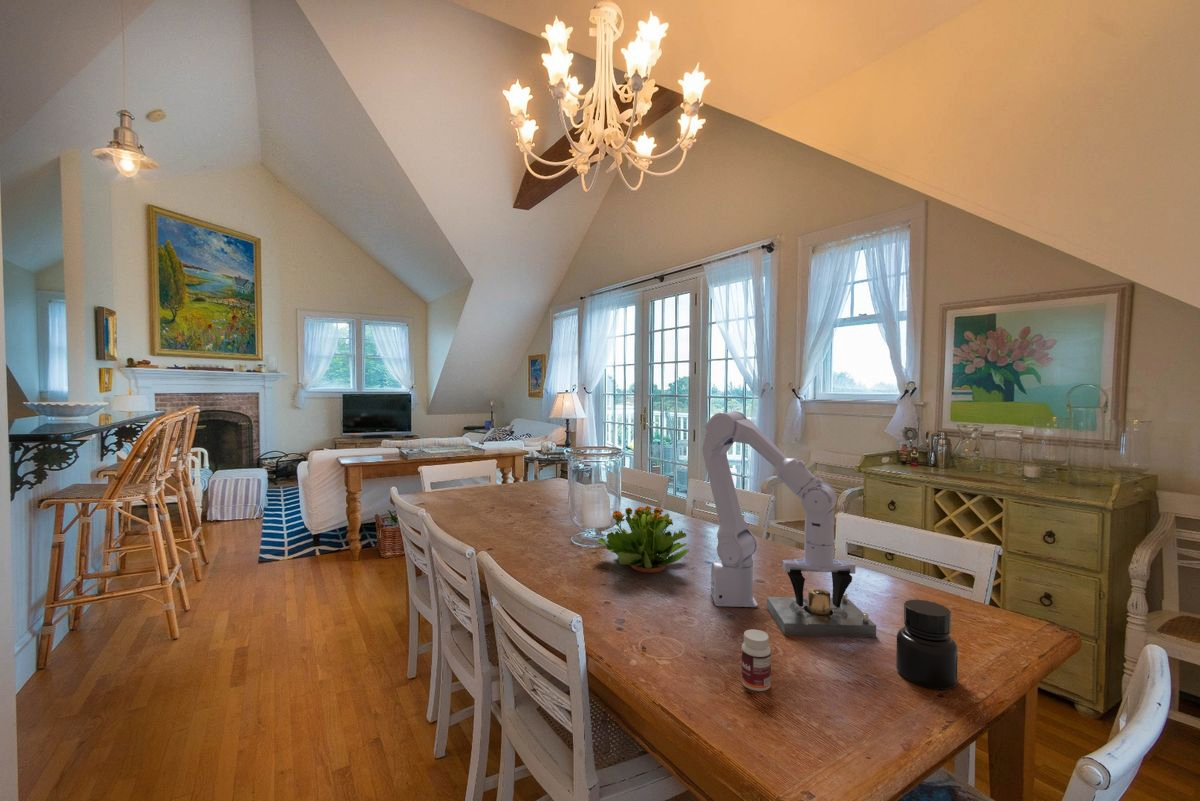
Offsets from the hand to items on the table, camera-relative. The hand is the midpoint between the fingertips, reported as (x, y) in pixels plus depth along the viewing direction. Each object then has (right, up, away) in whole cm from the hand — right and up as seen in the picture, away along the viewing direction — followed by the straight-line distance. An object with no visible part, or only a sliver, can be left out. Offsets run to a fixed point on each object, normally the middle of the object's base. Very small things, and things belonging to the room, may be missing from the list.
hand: (817, 605), depth 109 cm
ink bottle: (+10, -4, -21) cm, 23 cm away
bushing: (0, -4, 0) cm, 4 cm away
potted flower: (-32, -3, +33) cm, 46 cm away
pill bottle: (-20, -4, -23) cm, 31 cm away
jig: (0, -4, 0) cm, 4 cm away
